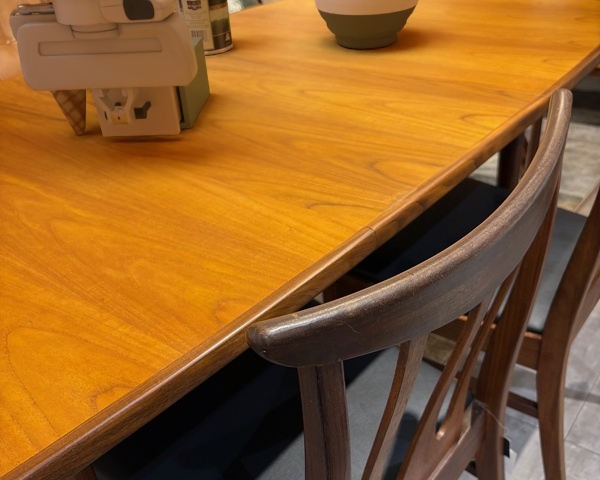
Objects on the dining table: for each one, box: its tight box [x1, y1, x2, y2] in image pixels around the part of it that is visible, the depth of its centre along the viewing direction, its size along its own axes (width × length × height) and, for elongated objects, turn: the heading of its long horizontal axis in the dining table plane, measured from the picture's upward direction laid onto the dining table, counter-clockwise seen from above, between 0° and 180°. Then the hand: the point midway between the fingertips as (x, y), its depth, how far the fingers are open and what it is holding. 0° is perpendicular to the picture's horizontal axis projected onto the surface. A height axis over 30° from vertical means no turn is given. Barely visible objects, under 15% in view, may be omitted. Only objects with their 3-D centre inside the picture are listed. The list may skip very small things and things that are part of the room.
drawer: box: [93, 86, 183, 138], centre depth 83 cm, size 18×10×7 cm, turn 176°
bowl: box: [314, 0, 419, 50], centre depth 114 cm, size 20×20×10 cm
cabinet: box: [179, 37, 211, 129], centre depth 89 cm, size 15×12×9 cm
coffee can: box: [174, 0, 234, 56], centre depth 116 cm, size 10×10×14 cm
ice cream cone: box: [49, 89, 87, 136], centre depth 82 cm, size 7×6×15 cm
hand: (122, 122), depth 76 cm, fingers closed
